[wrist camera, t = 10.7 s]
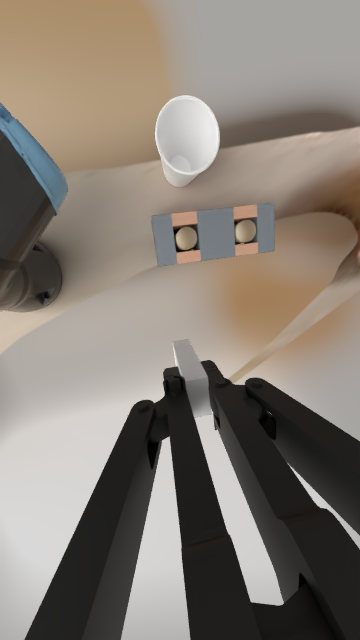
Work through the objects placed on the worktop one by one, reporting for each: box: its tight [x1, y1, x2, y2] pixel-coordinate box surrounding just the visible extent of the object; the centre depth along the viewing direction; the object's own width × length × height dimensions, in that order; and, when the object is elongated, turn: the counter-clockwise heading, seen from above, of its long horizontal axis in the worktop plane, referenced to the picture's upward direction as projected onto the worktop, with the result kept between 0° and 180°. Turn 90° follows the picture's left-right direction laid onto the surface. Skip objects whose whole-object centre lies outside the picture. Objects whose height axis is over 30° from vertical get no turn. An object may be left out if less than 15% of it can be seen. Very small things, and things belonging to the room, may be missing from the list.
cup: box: [155, 95, 220, 187], centre depth 35 cm, size 10×10×11 cm
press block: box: [152, 203, 274, 266], centre depth 41 cm, size 24×9×6 cm, turn 97°
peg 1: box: [174, 227, 197, 252], centre depth 40 cm, size 4×4×6 cm
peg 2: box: [234, 220, 256, 245], centre depth 42 cm, size 4×4×6 cm
